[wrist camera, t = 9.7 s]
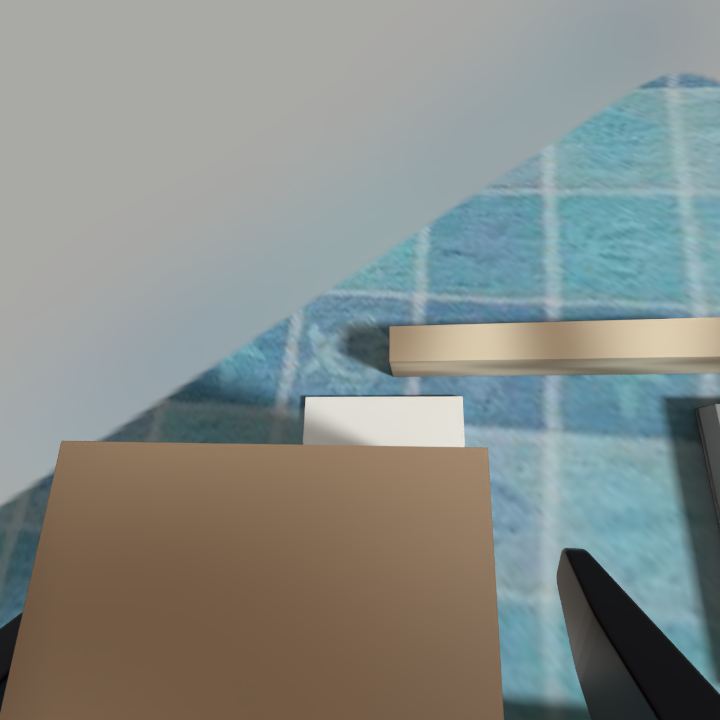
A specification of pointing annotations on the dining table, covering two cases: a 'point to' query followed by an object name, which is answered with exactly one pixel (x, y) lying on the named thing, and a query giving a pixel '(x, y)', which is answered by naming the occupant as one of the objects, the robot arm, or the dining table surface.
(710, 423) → the tray
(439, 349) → the channel
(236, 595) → the walnut block
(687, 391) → the dining table surface
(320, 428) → the pad
